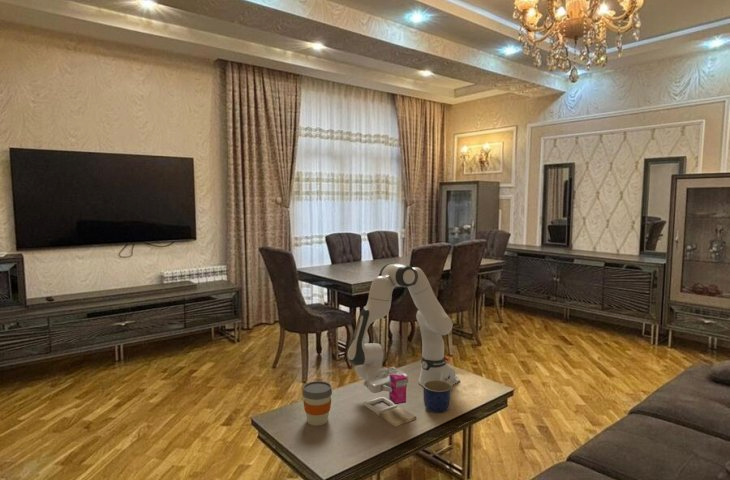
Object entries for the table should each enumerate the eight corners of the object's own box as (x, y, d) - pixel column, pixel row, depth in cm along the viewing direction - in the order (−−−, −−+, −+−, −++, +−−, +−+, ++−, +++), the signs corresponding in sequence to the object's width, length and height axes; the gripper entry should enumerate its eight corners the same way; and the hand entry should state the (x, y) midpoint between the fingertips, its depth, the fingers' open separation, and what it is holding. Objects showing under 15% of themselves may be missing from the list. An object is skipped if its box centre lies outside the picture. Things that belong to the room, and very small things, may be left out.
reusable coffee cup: (337, 417, 194) (337, 384, 193) (320, 430, 183) (320, 395, 182) (314, 410, 201) (314, 378, 199) (296, 422, 190) (296, 389, 188)
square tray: (382, 399, 212) (382, 396, 212) (397, 408, 203) (397, 405, 203) (364, 405, 206) (364, 402, 206) (378, 414, 197) (378, 411, 197)
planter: (455, 412, 200) (456, 388, 199) (431, 417, 195) (432, 393, 194) (441, 400, 211) (441, 378, 210) (418, 404, 207) (418, 382, 206)
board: (399, 408, 203) (399, 406, 203) (416, 418, 194) (416, 416, 194) (379, 416, 196) (379, 413, 196) (395, 426, 187) (395, 424, 187)
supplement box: (388, 399, 196) (389, 374, 195) (400, 397, 198) (401, 372, 197) (394, 404, 190) (395, 379, 189) (406, 402, 193) (407, 377, 192)
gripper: (361, 376, 198) (380, 387, 187) (396, 366, 210) (416, 375, 199) (361, 389, 198) (380, 401, 187) (396, 379, 210) (416, 389, 199)
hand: (399, 388), depth 193 cm, fingers closed on supplement box, 6 cm apart
